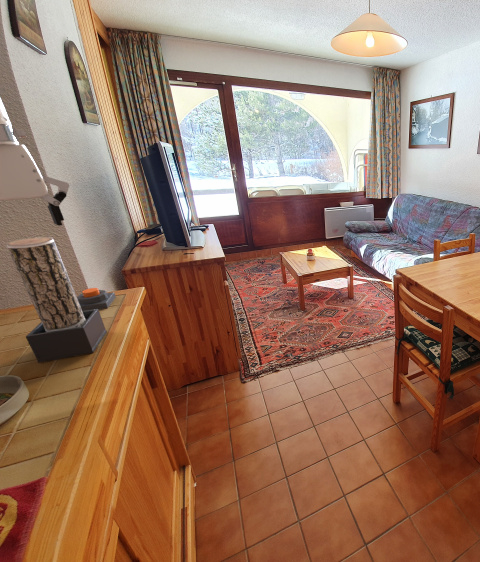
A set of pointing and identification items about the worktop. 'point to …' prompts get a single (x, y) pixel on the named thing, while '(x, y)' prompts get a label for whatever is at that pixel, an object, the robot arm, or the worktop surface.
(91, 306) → the block
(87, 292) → the release button
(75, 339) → the dock
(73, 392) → the worktop surface
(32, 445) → the worktop surface
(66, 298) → the bark log cylinder
